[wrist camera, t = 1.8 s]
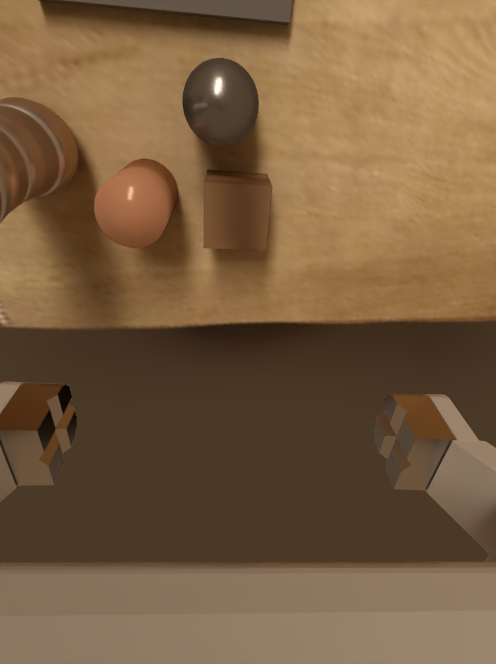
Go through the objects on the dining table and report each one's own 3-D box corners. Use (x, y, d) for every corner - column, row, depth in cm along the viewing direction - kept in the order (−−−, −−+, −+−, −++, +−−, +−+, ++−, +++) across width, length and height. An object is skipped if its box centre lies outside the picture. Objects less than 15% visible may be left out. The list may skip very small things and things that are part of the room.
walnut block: (206, 228, 35) (203, 247, 31) (207, 169, 33) (204, 182, 28) (261, 231, 36) (265, 251, 31) (266, 173, 33) (272, 186, 29)
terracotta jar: (121, 218, 34) (99, 245, 28) (115, 156, 32) (88, 173, 26) (178, 221, 35) (168, 249, 29) (177, 161, 32) (165, 178, 26)
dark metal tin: (188, 134, 31) (183, 142, 27) (188, 58, 28) (181, 54, 24) (251, 139, 31) (255, 148, 27) (256, 65, 29) (262, 62, 25)
